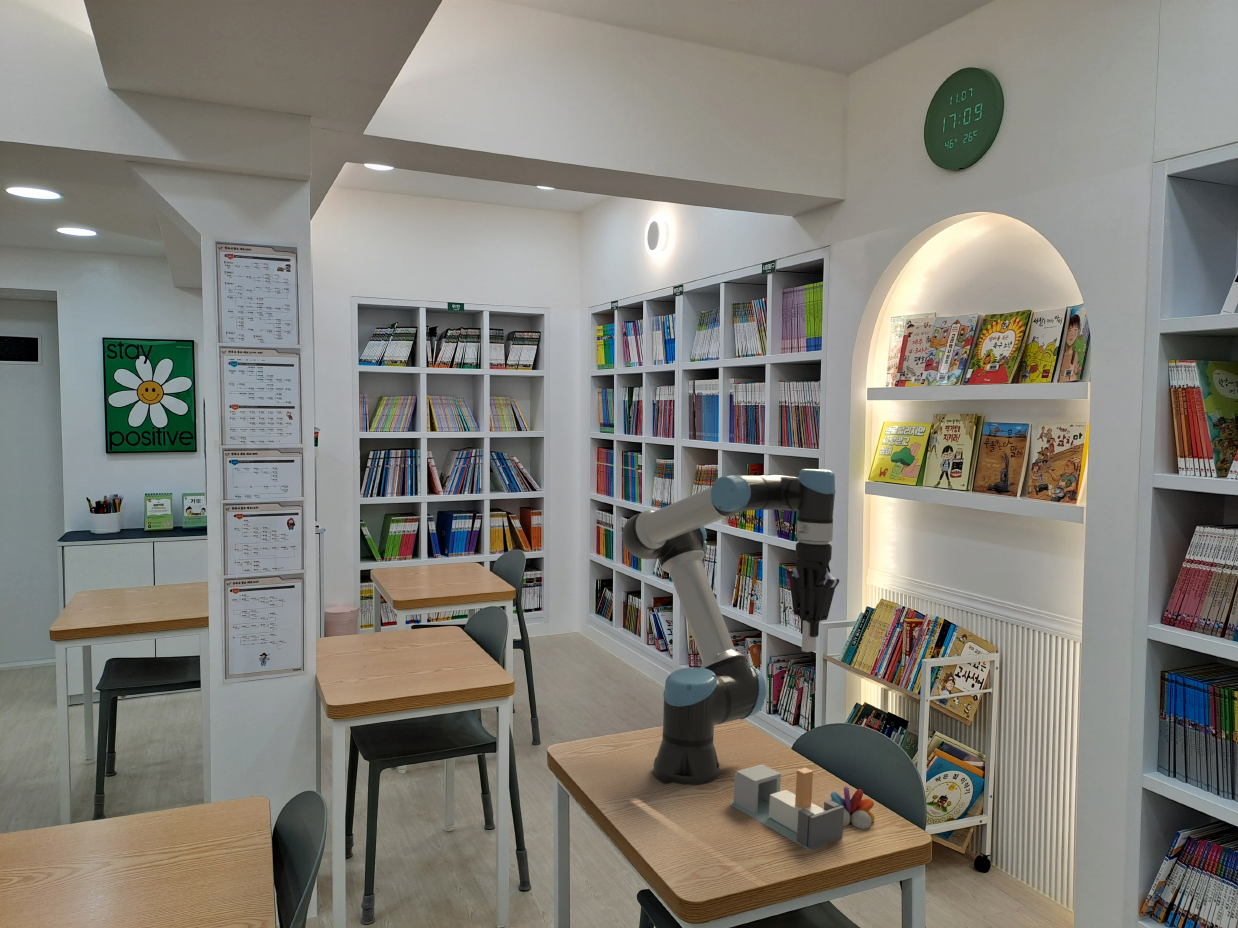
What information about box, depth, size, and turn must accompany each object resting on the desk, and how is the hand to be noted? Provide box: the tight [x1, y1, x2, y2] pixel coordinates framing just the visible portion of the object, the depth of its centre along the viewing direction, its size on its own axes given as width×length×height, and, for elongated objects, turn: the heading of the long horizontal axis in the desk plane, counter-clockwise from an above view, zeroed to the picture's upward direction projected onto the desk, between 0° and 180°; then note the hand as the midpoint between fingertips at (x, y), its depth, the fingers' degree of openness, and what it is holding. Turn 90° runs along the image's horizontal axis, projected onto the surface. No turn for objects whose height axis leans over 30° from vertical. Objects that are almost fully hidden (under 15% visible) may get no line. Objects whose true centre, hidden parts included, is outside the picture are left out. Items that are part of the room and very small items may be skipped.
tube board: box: [728, 763, 845, 851], centre depth 167 cm, size 22×10×8 cm, turn 35°
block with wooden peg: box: [769, 767, 826, 833], centre depth 164 cm, size 12×5×12 cm, turn 35°
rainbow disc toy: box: [830, 786, 875, 830], centre depth 169 cm, size 8×10×7 cm
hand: (808, 650), depth 178 cm, fingers closed
